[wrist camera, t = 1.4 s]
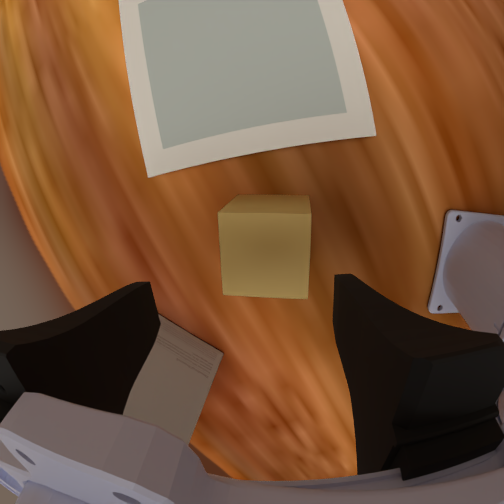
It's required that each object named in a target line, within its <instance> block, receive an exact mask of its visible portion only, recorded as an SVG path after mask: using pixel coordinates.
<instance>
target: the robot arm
mask: <svg viewBox="0 0 504 504" xmlns="http://www.w3.org/2000/svg"><path fill="white" fill-rule="evenodd" d="M457 215H459V219H458V220H457V221H456V216H457ZM439 305H441V307H440V308H438V306H439ZM428 310H429V312H430V313H460V314H461V315H462V317H463V318H464V320H465V321H466V322H467V324H468V325H469V327H470V328H471V330H467V329H462V328H458V327H453V326H450V325H446V324H443V323H439V322H437V321H434V320H431V319H428V318H425V317H423V316H420V315H418V314H416V313H414V312H411V311H409V310H407V309H405V308H403V307H401V306H399V305H398V304H396V303H394V302H392V301H391V300H389V299H387V298H386V297H384V296H383V295H381V294H380V293H378V292H377V291H375V290H374V289H372V288H371V287H369V286H368V285H367V284H365V283H364V282H362V281H361V280H360V279H358V278H357V277H355V276H354V275H352V274H338V275H335V278H334V304H333V327H334V334H335V340H336V344H337V348H338V351H339V355H340V358H341V362H342V365H343V369H344V372H345V376H346V379H347V383H348V387H349V391H350V396H351V403H352V410H353V418H354V428H355V438H356V452H357V474H358V475H355V476H348V477H339V478H330V479H317V480H300V481H248V480H237V479H232V478H227V477H222V476H217V475H213V474H208V473H206V472H205V469H204V467H203V465H202V463H201V461H200V459H199V457H198V456H197V455H196V454H195V453H194V452H193V451H192V450H191V449H190V447H189V446H188V445H187V444H186V443H185V442H184V441H183V440H182V439H181V438H179V437H177V436H175V435H174V434H172V433H170V432H168V431H167V430H165V429H163V428H161V427H160V426H158V425H155V424H152V423H149V422H146V421H142V420H139V419H136V418H133V417H130V416H125V415H123V412H124V409H125V406H126V403H127V400H128V397H129V394H130V391H131V389H132V387H133V385H134V382H135V380H136V379H137V377H138V375H139V373H140V371H141V369H142V367H143V365H144V363H145V361H146V359H147V357H148V355H149V353H150V351H151V350H152V348H153V346H154V343H155V341H156V338H157V335H158V332H159V329H160V326H161V322H160V319H159V315H158V311H157V308H156V304H155V300H154V296H153V292H152V288H151V284H150V282H135V283H132V284H129V285H127V286H125V287H123V288H121V289H119V290H117V291H115V292H113V293H111V294H109V295H107V296H105V297H103V298H101V299H99V300H97V301H95V302H93V303H91V304H89V305H87V306H85V307H83V308H81V309H79V310H77V311H74V312H72V313H70V314H67V315H64V316H62V317H59V318H57V319H53V320H50V321H47V322H43V323H40V324H37V325H33V326H29V327H24V328H19V329H12V330H6V331H5V330H4V331H0V484H2V485H3V486H4V487H6V488H7V489H8V490H10V491H11V492H12V493H14V494H15V495H17V496H18V499H17V500H16V503H15V504H504V216H503V215H495V214H487V213H478V212H469V211H459V210H449V211H448V212H447V213H446V216H445V222H444V229H443V236H442V242H441V248H440V253H439V259H438V264H437V269H436V273H435V278H434V282H433V287H432V291H431V295H430V299H429V303H428Z"/></svg>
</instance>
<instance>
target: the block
mask: <svg viewBox="0 0 504 504" xmlns="http://www.w3.org/2000/svg"><path fill="white" fill-rule="evenodd" d="M311 216H312V214H311V206H310V199H309V195H266V194H238V195H237V196H236V197H235V198H234V199H232V200H231V201H230V202H229V203H228V204H227V205H226V206H225V207H224V208H222V209H221V210H220V211H219V212H218V227H219V244H220V259H221V273H222V287H223V295H234V296H251V297H270V298H293V299H308V284H309V266H310V245H311Z"/></svg>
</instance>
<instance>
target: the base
mask: <svg viewBox="0 0 504 504" xmlns="http://www.w3.org/2000/svg"><path fill="white" fill-rule="evenodd" d="M119 9H120V19H121V28H122V37H123V44H124V52H125V59H126V66H127V72H128V79H129V85H130V91H131V96H132V102H133V108H134V113H135V118H136V123H137V128H138V133H139V138H140V143H141V147H142V152H143V157H144V161H145V165H146V170H147V174H148V178H149V177H153V176H157V175H160V174H164V173H168V172H172V171H176V170H180V169H184V168H188V167H192V166H196V165H200V164H205V163H209V162H213V161H218V160H222V159H227V158H232V157H237V156H242V155H247V154H252V153H257V152H263V151H268V150H274V149H279V148H285V147H292V146H298V145H304V144H311V143H318V142H326V141H333V140H342V139H350V138H359V137H369V136H376V130H375V125H374V119H373V114H372V109H371V104H370V99H369V94H368V89H367V85H366V80H365V76H364V72H363V68H362V64H361V60H360V56H359V53H358V49H357V45H356V42H355V38H354V35H353V32H352V28H351V25H350V22H349V19H348V16H347V13H346V10H345V7H344V4H343V1H342V0H119Z"/></svg>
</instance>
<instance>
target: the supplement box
mask: <svg viewBox="0 0 504 504" xmlns="http://www.w3.org/2000/svg"><path fill="white" fill-rule="evenodd" d="M158 315H159V314H158ZM159 319H160V322H161V326H160V329H159V332H158V335H157V338H156V341H155V343H154V346H153V348H152V350H151V351H150V353H149V355H148V357H147V359H146V361H145V363H144V365H143V367H142V369H141V371H140V373H139V375H138V377H137V379H136V380H135V382H134V385H133V387H132V389H131V391H130V394H129V397H128V400H127V403H126V406H125V409H124V412H123V415H125V416H130V417H133V418H136V419H139V420H142V421H146V422H149V423H152V424H155V425H158V426H160V427H161V428H163V429H165V430H167V431H168V432H170V433H172V434H174V435H175V436H177V437H179V438H181V439H182V440H183V441H184V442H185V443H186V444H187V445H188V444H189V441H190V439H191V436H192V434H193V431H194V429H195V426H196V423H197V421H198V418H199V416H200V413H201V411H202V408H203V405H204V403H205V400H206V398H207V395H208V392H209V390H210V387H211V385H212V382H213V380H214V377H215V374H216V372H217V369H218V367H219V364H220V361H221V359H222V356H223V353H222V352H220V351H219V350H217V349H215V348H214V347H212V346H210V345H209V344H207V343H205V342H203V341H202V340H200V339H198V338H197V337H195V336H193V335H192V334H190V333H188V332H187V331H185V330H184V329H182V328H180V327H179V326H177V325H175V324H174V323H172V322H170V321H169V320H167V319H166V318H164V317H163V316H161V315H159Z"/></svg>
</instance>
